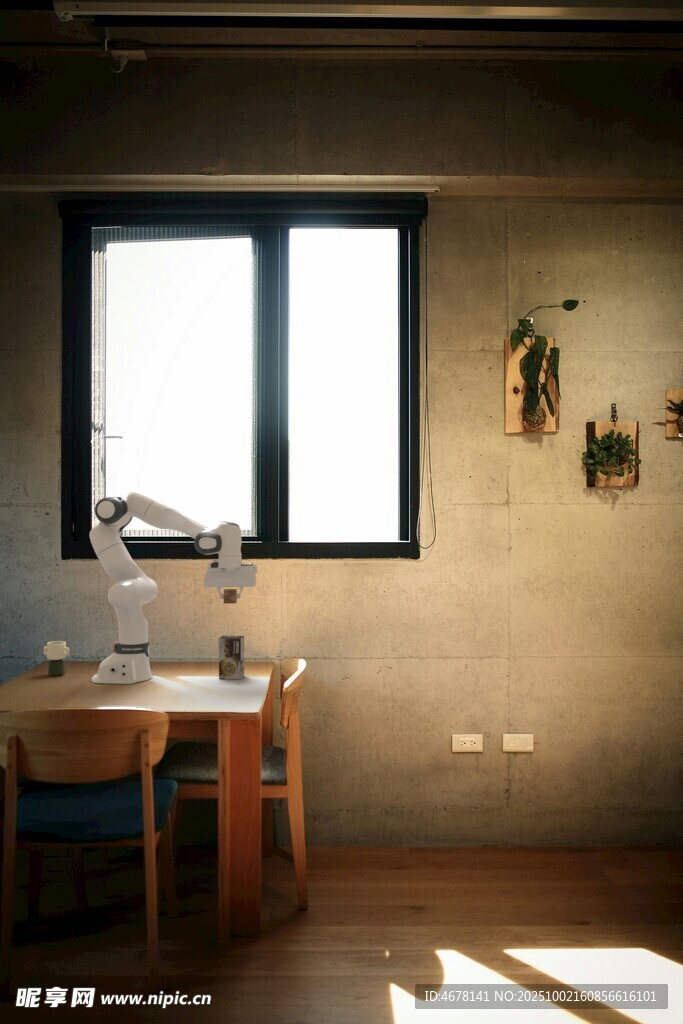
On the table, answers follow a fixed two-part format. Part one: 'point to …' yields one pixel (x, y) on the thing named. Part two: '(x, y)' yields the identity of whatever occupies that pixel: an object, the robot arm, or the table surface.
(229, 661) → the coffee box
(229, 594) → the walnut cube
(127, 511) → the robot arm
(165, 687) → the table surface
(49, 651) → the trophy cup
